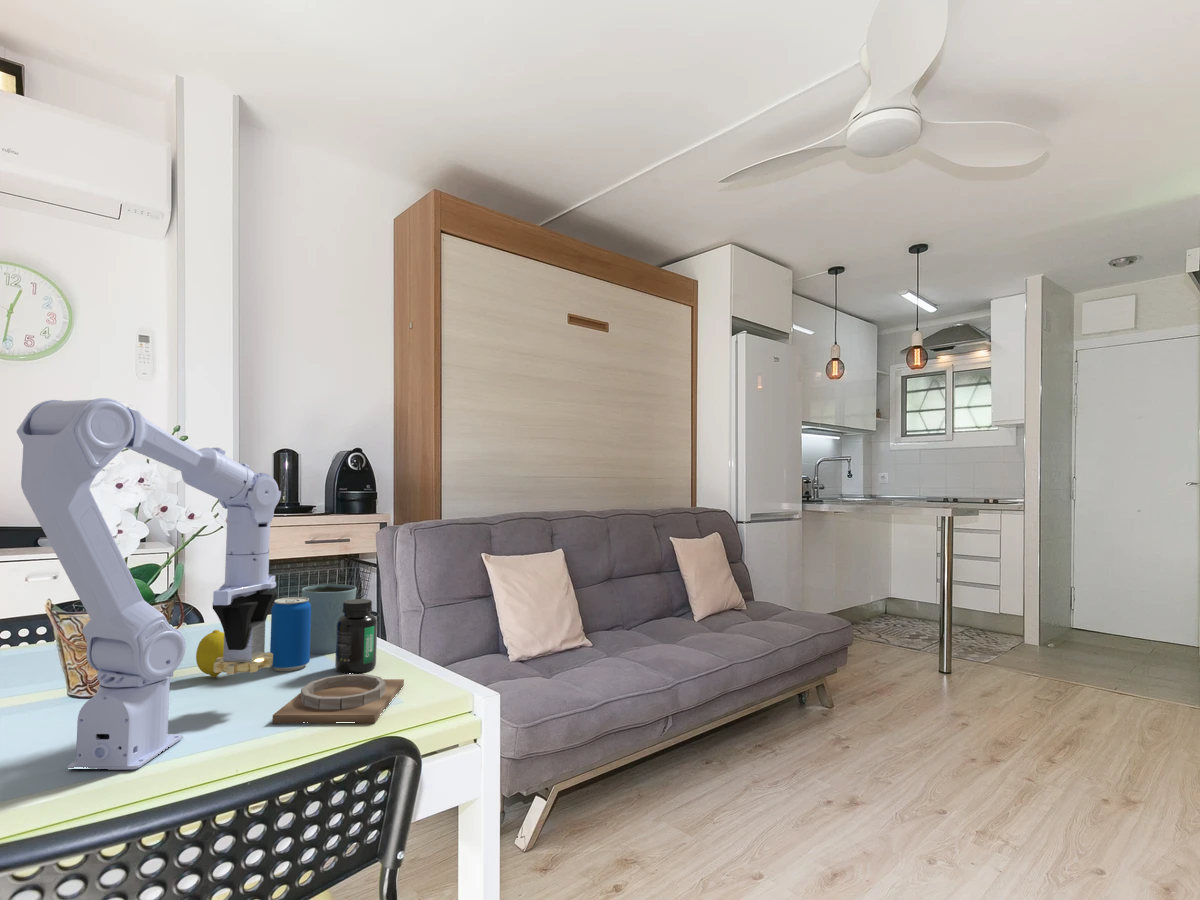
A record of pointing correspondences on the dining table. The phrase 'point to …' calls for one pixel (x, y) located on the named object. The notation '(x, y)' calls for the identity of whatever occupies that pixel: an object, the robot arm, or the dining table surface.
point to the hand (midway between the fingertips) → (244, 645)
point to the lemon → (210, 652)
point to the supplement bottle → (356, 637)
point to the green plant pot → (326, 614)
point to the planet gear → (246, 653)
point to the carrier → (340, 700)
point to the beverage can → (290, 633)
